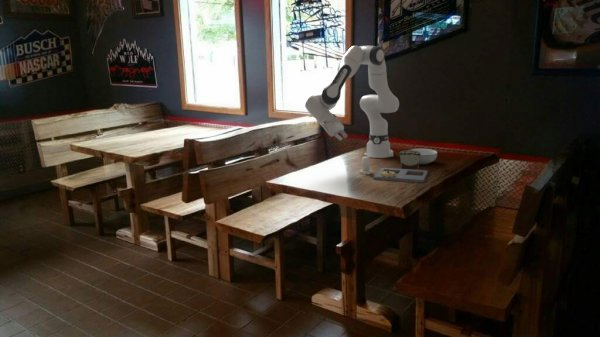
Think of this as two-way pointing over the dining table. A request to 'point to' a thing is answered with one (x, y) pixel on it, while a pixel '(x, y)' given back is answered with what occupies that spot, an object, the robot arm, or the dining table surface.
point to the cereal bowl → (426, 155)
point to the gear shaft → (365, 166)
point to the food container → (410, 159)
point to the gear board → (400, 175)
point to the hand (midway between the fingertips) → (343, 138)
